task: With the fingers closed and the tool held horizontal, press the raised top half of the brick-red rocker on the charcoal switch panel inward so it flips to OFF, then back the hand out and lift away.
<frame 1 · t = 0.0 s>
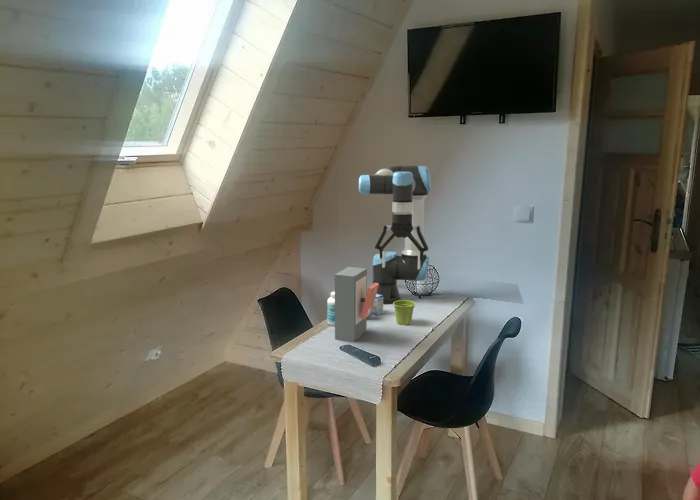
hand: (401, 267, 210), 28 cm above the table, tool pointing down, fingers open, 13 cm apart
canned food: (359, 317, 239), on the table
red rocker: (369, 300, 212), point 15 cm above the table, hinge at -15.0°
switch panel: (351, 334, 218), on the table
pill bottle: (336, 324, 231), on the table
plant pot: (403, 323, 233), on the table
medicine box: (373, 313, 246), on the table
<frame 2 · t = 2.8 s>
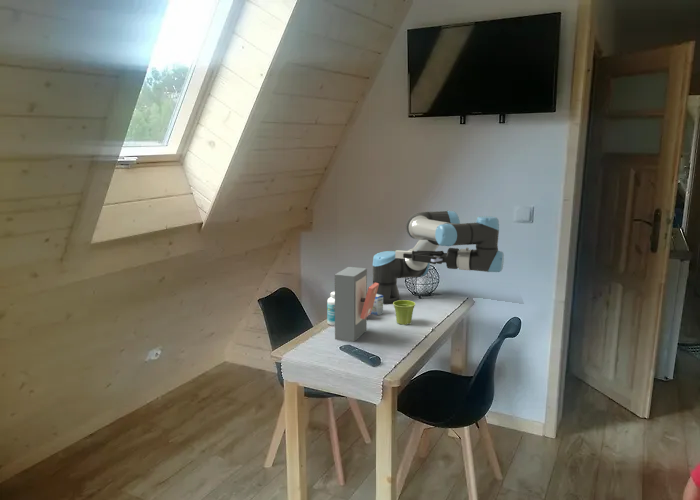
hand: (396, 254, 205), 34 cm above the table, tool horizontal, fingers closed
nothing on the table moved.
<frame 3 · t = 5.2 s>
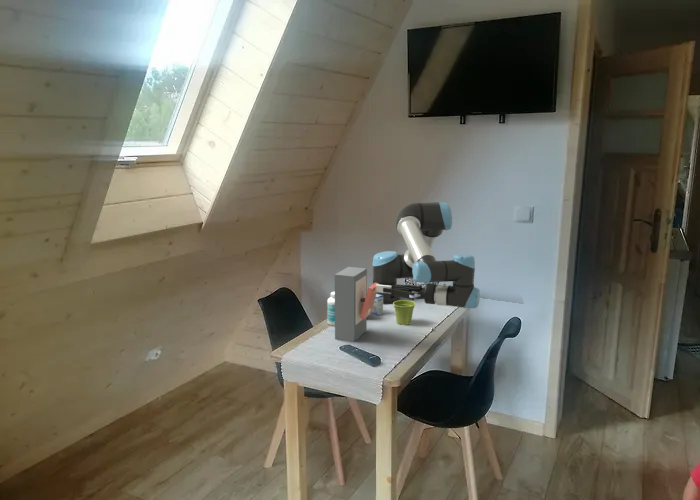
hand: (376, 288, 210), 20 cm above the table, tool horizontal, fingers closed
red rocker: (369, 300, 212), point 15 cm above the table, hinge at -15.0°, touching gripper
everything else where it was.
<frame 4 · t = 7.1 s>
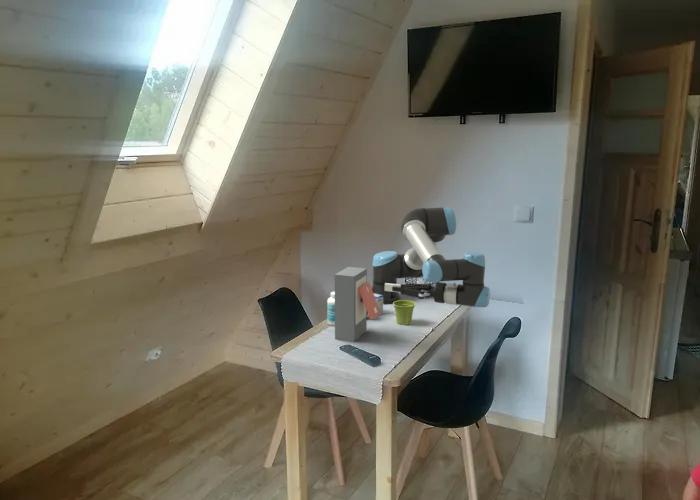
hand: (385, 286, 209), 21 cm above the table, tool horizontal, fingers closed
red rocker: (369, 300, 212), point 15 cm above the table, hinge at 22.4°
everything else where it was.
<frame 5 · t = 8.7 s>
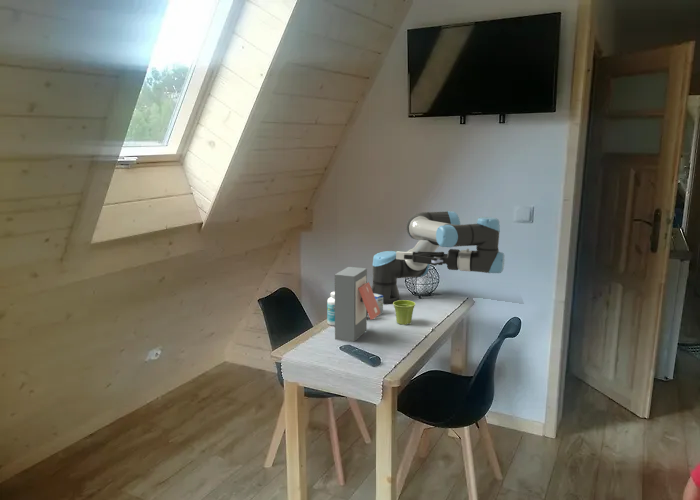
hand: (396, 255, 205), 34 cm above the table, tool horizontal, fingers closed
red rocker: (369, 300, 212), point 15 cm above the table, hinge at 23.0°
everything else where it was.
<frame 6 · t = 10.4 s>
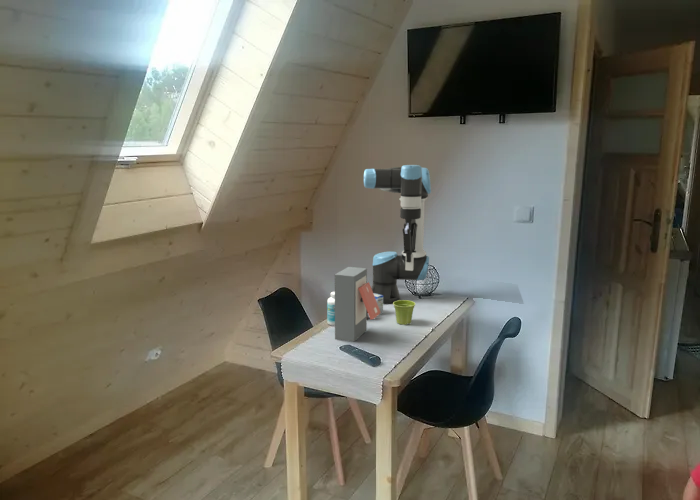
hand: (409, 269, 205), 28 cm above the table, tool pointing down, fingers closed
nothing on the table moved.
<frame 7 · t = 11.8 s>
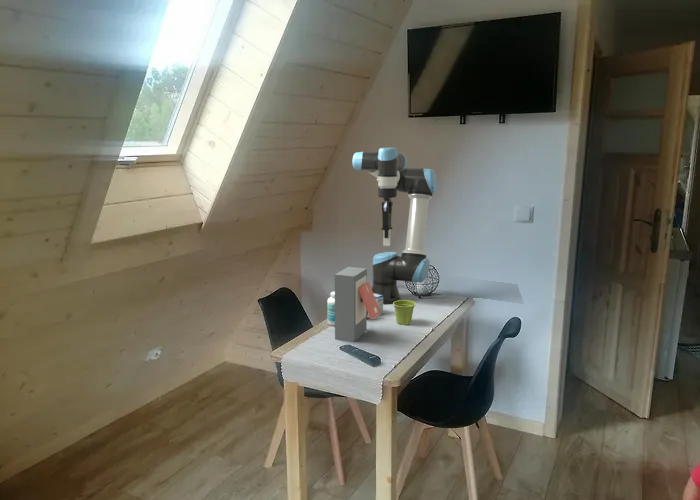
hand: (386, 245, 221), 34 cm above the table, tool pointing down, fingers closed
nothing on the table moved.
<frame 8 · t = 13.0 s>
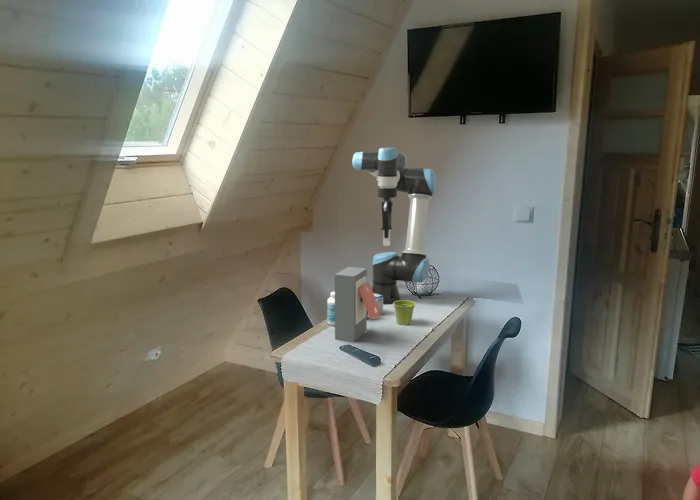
hand: (386, 245, 221), 34 cm above the table, tool pointing down, fingers closed
nothing on the table moved.
at the end: red rocker at +23° (first picture: -15°) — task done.
